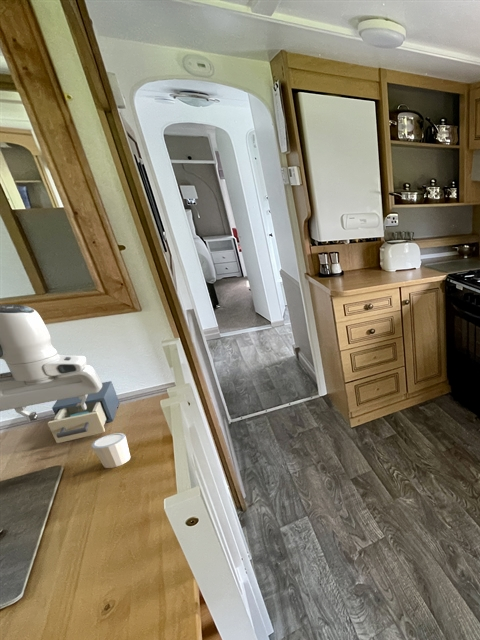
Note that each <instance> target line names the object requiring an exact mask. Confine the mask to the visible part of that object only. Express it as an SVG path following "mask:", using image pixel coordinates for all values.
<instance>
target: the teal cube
mask: <svg viewBox="0 0 480 640" xmlns="http://www.w3.org/2000/svg"><path fill="white" fill-rule="evenodd" d="M87 413H90V412H89V411H86V412H81V413H76V414H72V415H71V416H70V417H73V416H78V415H82V414H87Z"/></svg>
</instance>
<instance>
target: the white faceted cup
mask: <svg viewBox="0 0 480 640" xmlns="http://www.w3.org/2000/svg"><path fill="white" fill-rule="evenodd" d="M90 447H91V448H92V450H93V451H94V454H95V455H96V456H97V458H98V460H99V461H100V464H102V466H103V468H105V469H113V468H117V467H120V466H123V465H124V464H125V463H127V462H129V461H130V460H131V454H130V449H129V445H128V440H127V436H126V434H125V433H122V432H115V433H110V434H106V435H104V436H102V437H101V436H100V437H99V438H97V439H96V440H94V441H93V442H92V443H91V445H90Z"/></svg>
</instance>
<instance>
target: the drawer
mask: <svg viewBox="0 0 480 640" xmlns="http://www.w3.org/2000/svg"><path fill="white" fill-rule="evenodd" d="M86 406H87V408H86V410H82V411H78V408H77V407H76V406H71V407H66V408H61V409H60V410H59V412H58V413H57V415H56V416H54V418H53V420H49V421H48V422H47V425H48V427H49V430H50V432H51V435H52V436H53V438H54V440H55V442H56V444H60V443H65V442H68V441H72V440H77V439H82V438H87V437H90V436H94V435H100V434H103V433H105V432H106V429H105V424H106V423H105V421H106V419H107V413H106V411H105V408H104V406H103V403H102V401H97V402H92V403H87V404H86ZM86 411H89V412H90V413H87V414H82V415H78V416H73V417H70V416H71V415H72V414H76V413H81V412H86Z"/></svg>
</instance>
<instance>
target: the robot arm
mask: <svg viewBox="0 0 480 640" xmlns="http://www.w3.org/2000/svg"><path fill="white" fill-rule="evenodd" d="M0 360H3V361H4V362H5V363H6V366H7V368H8V370H9V371H7V372H1V373H0V412H4V411H8V410H13V409H14V411H15V412H16V413H17V414H19V415H21V416H23V417H25V418H26V421H27V422H33V421H37V420H38V419H39V416H38V415H37V412H36V411H30V410H28V409H26V408H27V407H29V406H35V405H41V404H46V403H50V402H56V401H57V400H61V399H67V398H72V397H77V396H78V398H79V399H82V401H81V403H77V405H76V407H77V408H78V411H82V410H86V408H87V406H86V404H85V401H86V399H87V396H88V394H93V393H97V392H99V391H100V390H101V388H102V383H103V381H102V380H101V378H100V376H99V374H98V372H97V371H96V369H95V368H94V366H92V365H89V364H87V363H88V359H87V357H86V356H84V355H72V354H71V355H69V354H59V353H58V350H57V349H56V348H55V347H54V345H53V344H52V336H51V334H50V331H49V329H48V327H47V325H46V324H45V322H44V320H43V318H42V317H41V315H40V313H39V312H38V311H37V310H36V309H34V308H33V307H30V306H27V305H23V304H0Z"/></svg>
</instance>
